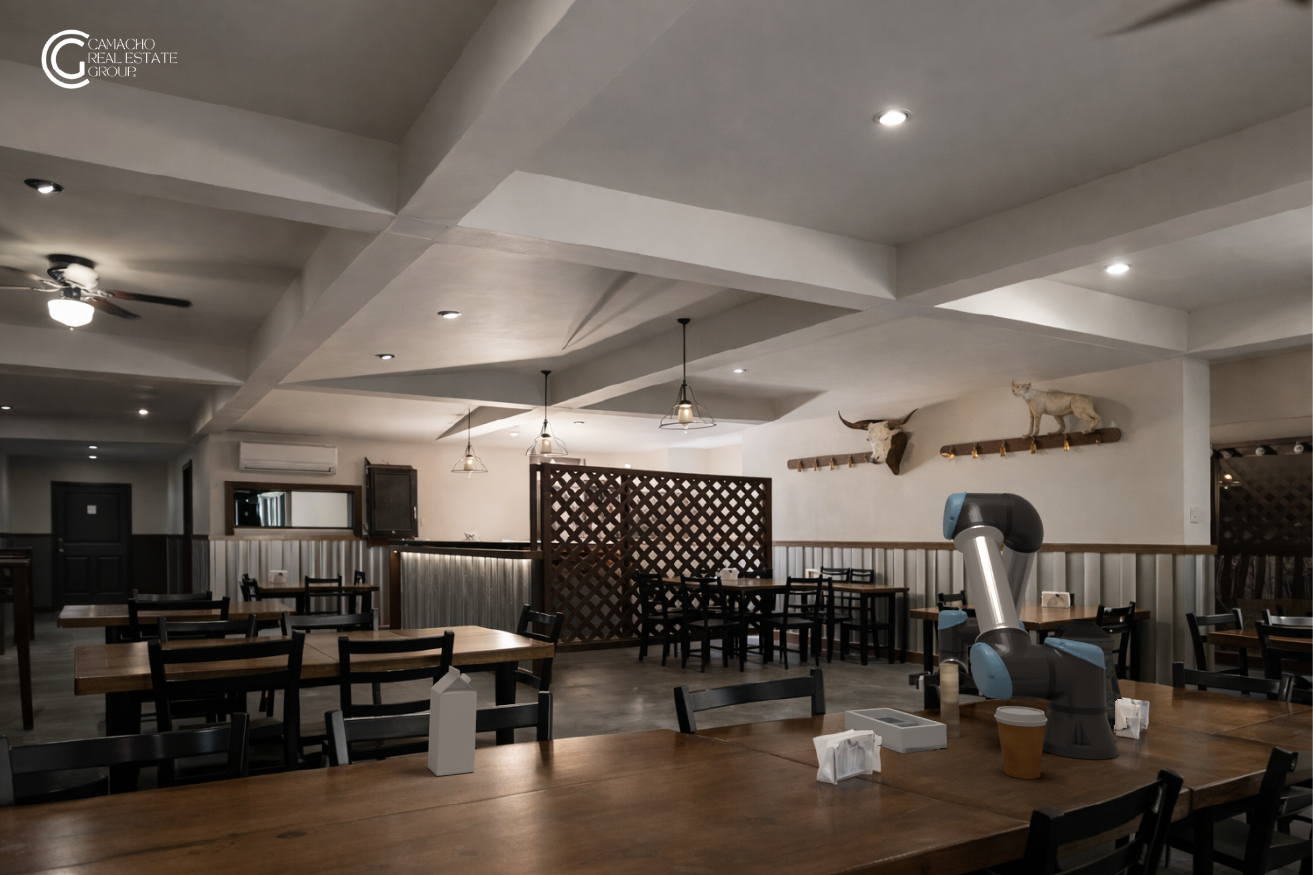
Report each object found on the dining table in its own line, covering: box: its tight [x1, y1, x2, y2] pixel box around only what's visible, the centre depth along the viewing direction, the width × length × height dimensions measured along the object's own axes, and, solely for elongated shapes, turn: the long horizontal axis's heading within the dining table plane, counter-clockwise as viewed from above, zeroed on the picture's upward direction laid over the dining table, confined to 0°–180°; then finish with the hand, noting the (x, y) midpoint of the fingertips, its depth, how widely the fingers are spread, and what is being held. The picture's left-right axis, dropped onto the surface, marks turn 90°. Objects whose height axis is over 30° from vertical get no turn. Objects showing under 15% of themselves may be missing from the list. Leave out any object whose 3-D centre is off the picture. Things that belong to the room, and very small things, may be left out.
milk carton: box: [427, 665, 478, 777], centre depth 173 cm, size 7×7×19 cm
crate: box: [844, 707, 948, 754], centre depth 201 cm, size 20×12×5 cm, turn 24°
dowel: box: [939, 663, 961, 739], centre depth 207 cm, size 4×4×16 cm
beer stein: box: [1047, 618, 1123, 731], centre depth 224 cm, size 16×19×25 cm
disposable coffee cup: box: [994, 705, 1047, 780], centre depth 174 cm, size 10×10×12 cm
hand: (950, 687), depth 216 cm, fingers open, 13 cm apart
